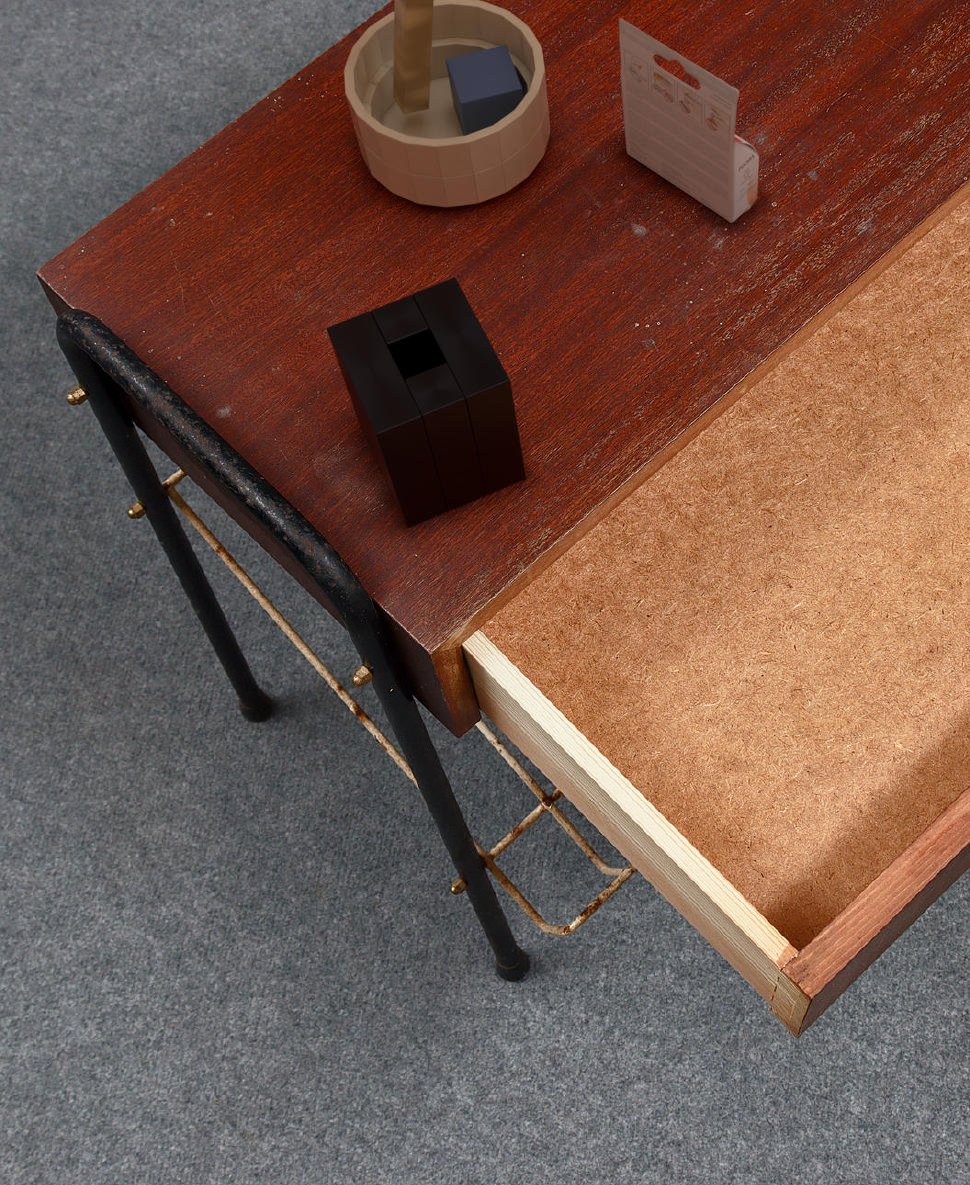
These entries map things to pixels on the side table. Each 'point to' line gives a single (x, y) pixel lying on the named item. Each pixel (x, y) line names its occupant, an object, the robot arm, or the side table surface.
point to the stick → (412, 54)
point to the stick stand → (431, 400)
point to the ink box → (685, 127)
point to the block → (483, 88)
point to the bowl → (448, 111)
